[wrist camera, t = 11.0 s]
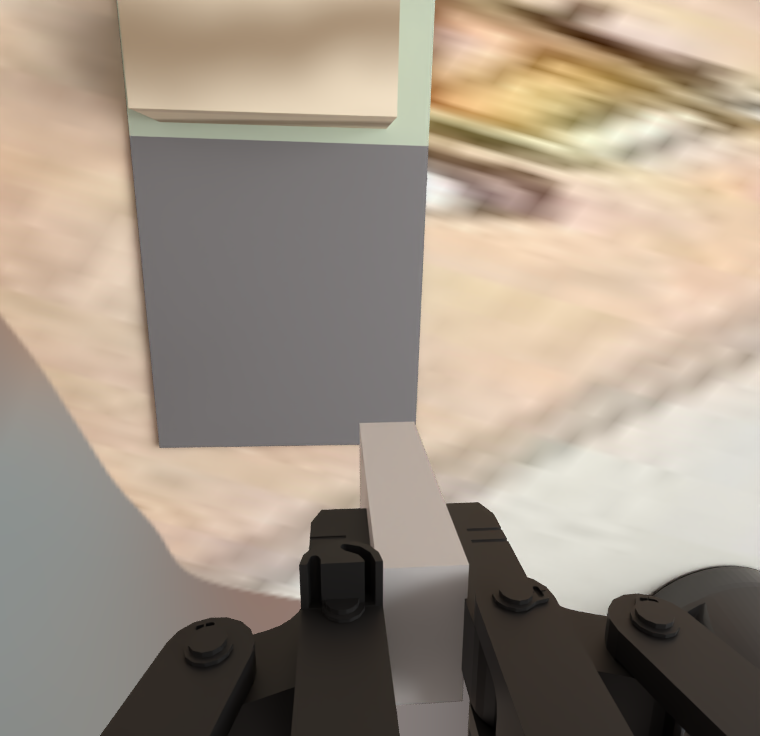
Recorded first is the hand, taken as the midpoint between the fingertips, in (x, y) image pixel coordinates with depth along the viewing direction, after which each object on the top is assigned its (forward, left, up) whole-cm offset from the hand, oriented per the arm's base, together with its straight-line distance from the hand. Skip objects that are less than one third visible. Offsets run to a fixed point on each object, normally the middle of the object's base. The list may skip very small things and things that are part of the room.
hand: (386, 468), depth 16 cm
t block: (+17, +4, -19) cm, 26 cm away
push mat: (+9, +4, -20) cm, 22 cm away
